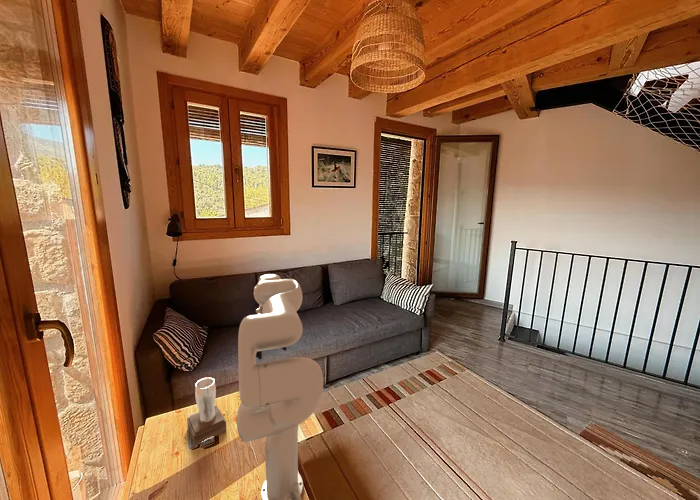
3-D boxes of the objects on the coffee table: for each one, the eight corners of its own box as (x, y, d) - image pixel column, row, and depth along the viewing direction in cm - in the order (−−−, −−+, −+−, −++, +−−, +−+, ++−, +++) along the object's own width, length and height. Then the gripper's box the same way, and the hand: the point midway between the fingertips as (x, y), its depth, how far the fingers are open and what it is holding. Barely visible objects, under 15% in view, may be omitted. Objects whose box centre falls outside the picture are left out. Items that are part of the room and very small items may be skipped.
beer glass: (194, 417, 110) (192, 382, 107) (213, 408, 114) (211, 375, 112) (200, 428, 105) (197, 391, 102) (219, 418, 109) (217, 383, 107)
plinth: (226, 431, 110) (225, 419, 109) (195, 446, 103) (194, 434, 102) (217, 415, 118) (216, 404, 117) (187, 428, 111) (186, 417, 110)
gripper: (251, 318, 92) (252, 366, 95) (297, 306, 104) (297, 349, 107) (242, 311, 98) (244, 357, 101) (287, 301, 109) (287, 342, 112)
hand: (271, 353), depth 104 cm, fingers open, 9 cm apart
